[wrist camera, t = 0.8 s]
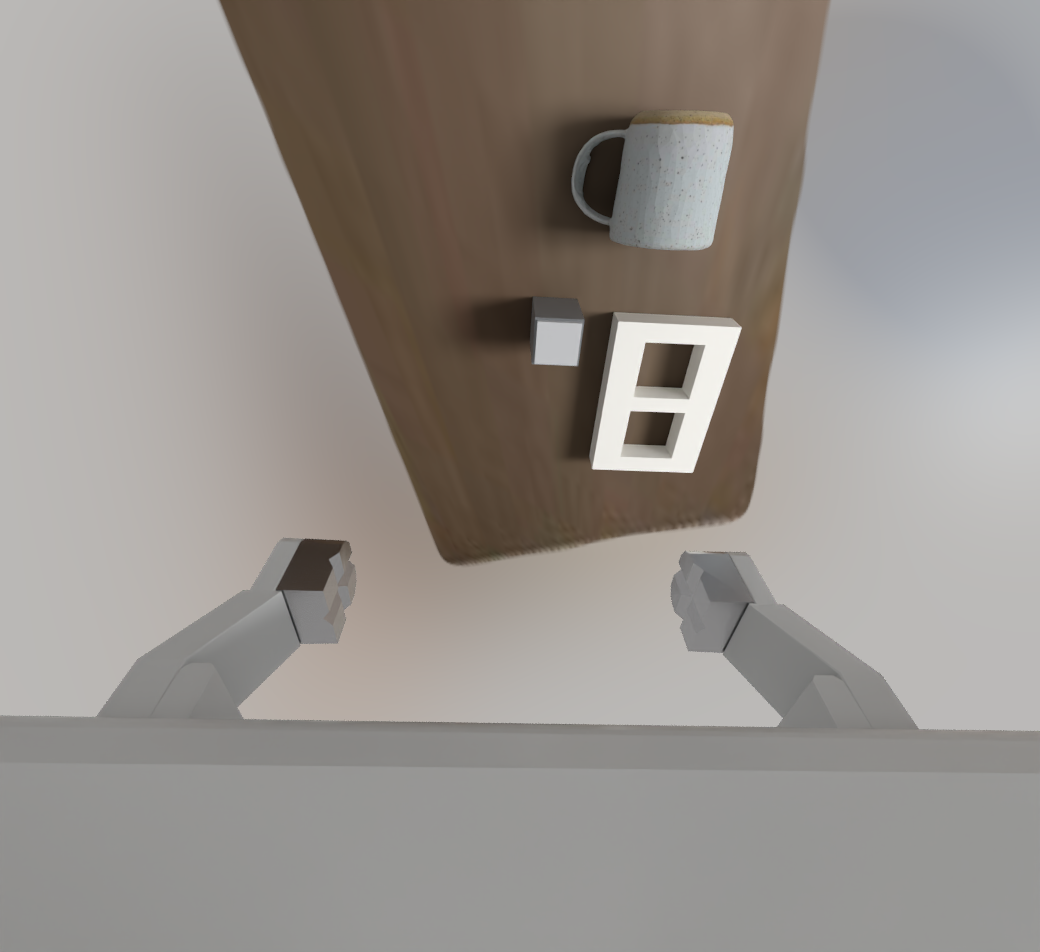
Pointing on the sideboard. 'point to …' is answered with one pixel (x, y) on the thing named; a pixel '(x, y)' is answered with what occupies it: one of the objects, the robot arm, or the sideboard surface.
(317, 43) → the sideboard surface
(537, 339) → the plug
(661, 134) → the ceramic mug
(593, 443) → the outlet plate
